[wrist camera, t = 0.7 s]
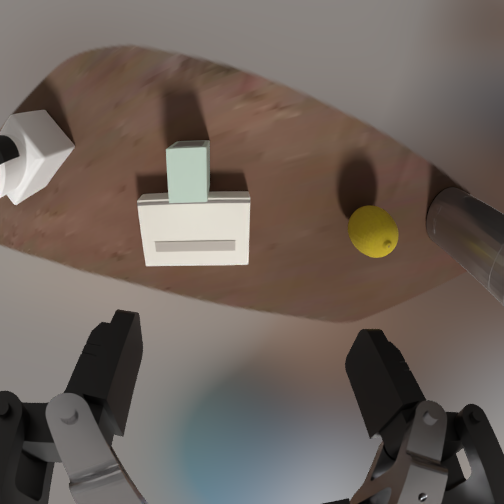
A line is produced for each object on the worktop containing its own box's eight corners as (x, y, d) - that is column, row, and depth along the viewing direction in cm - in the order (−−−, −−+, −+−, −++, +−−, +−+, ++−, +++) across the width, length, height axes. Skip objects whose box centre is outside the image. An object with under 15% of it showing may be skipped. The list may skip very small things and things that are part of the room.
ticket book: (248, 191, 32) (250, 198, 30) (246, 254, 36) (248, 264, 33) (142, 194, 31) (136, 200, 28) (150, 256, 34) (146, 266, 32)
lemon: (362, 243, 36) (390, 275, 29) (330, 227, 35) (356, 258, 28) (384, 208, 34) (418, 235, 27) (353, 189, 33) (385, 212, 26)
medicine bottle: (16, 150, 25) (-46, 177, 15) (45, 108, 24) (-21, 119, 13) (46, 187, 28) (-12, 225, 18) (76, 146, 27) (15, 171, 16)
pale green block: (209, 139, 28) (206, 146, 23) (209, 185, 31) (207, 202, 26) (176, 140, 28) (166, 148, 23) (178, 185, 30) (169, 203, 25)
